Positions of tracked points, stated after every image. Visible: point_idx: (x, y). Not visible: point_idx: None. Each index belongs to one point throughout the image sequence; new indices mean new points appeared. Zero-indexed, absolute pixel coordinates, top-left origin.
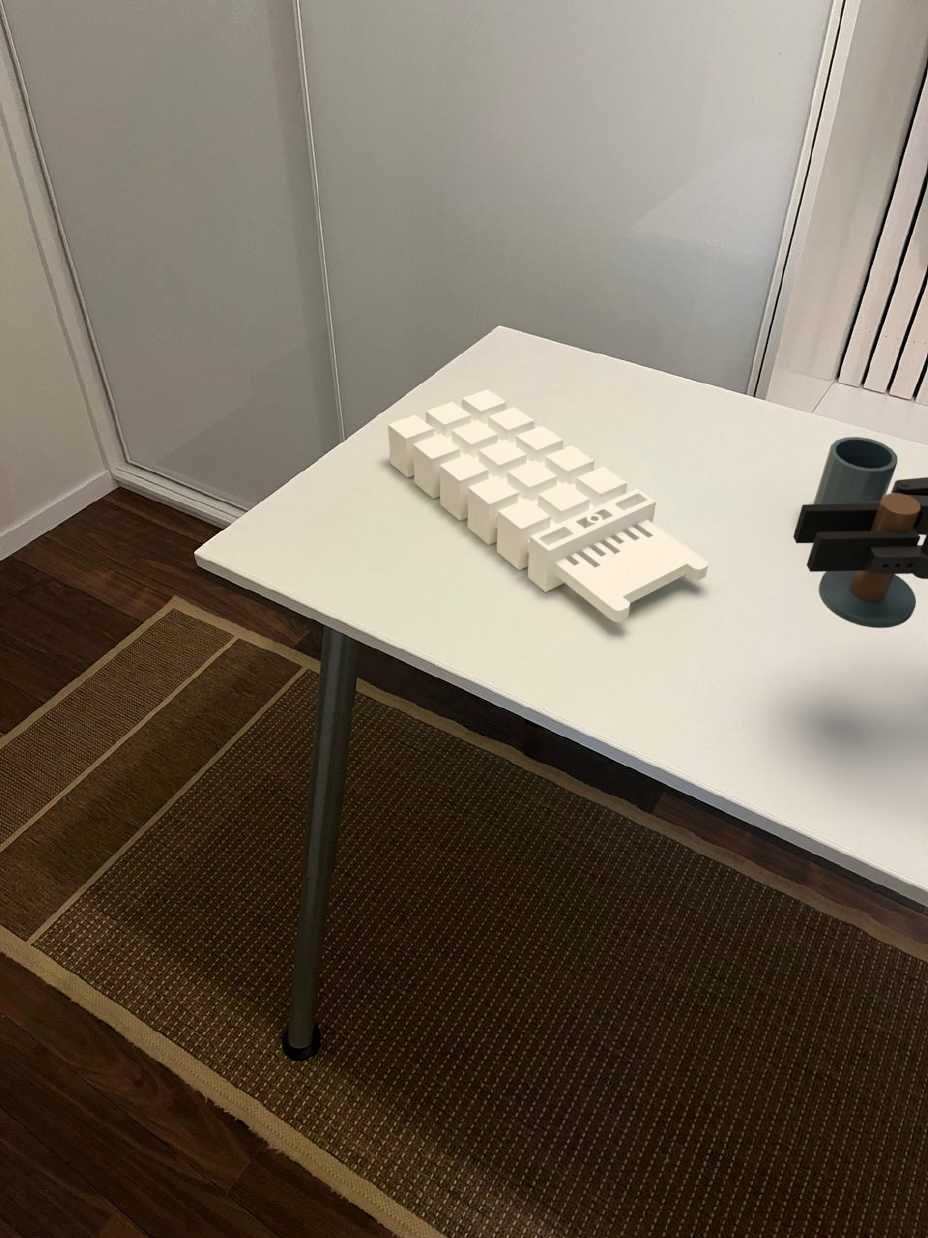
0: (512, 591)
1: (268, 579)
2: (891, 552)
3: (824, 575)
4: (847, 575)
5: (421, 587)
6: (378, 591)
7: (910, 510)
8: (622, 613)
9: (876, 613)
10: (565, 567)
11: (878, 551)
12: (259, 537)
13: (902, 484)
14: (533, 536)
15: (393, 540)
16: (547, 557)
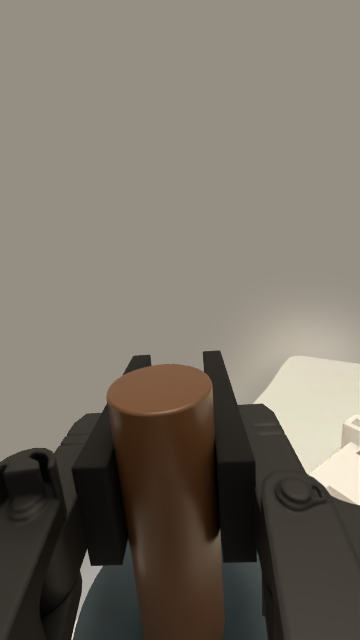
0: (329, 443)
1: (285, 366)
2: (82, 438)
3: None
4: (240, 583)
5: (306, 405)
6: (294, 392)
7: (120, 391)
8: None
9: (107, 607)
10: (348, 447)
11: (94, 419)
12: (314, 361)
13: None
14: (357, 416)
15: (345, 393)
16: (342, 429)
